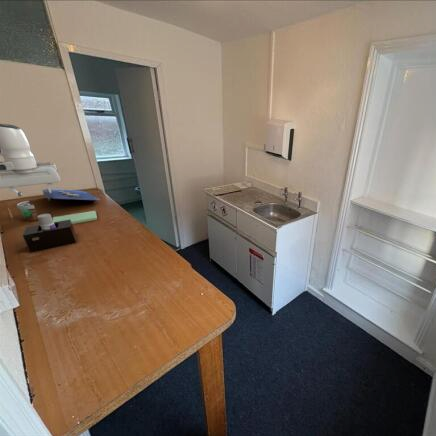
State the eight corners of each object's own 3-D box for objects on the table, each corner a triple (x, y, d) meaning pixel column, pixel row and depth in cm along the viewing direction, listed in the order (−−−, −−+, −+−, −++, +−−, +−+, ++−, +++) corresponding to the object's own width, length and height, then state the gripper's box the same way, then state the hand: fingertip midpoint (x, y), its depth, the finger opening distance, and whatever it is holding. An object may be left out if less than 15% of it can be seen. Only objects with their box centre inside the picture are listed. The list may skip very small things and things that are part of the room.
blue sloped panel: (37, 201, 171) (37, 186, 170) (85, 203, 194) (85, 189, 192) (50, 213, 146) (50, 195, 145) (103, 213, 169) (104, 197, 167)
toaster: (30, 253, 107) (22, 236, 104) (33, 243, 116) (26, 226, 112) (76, 243, 117) (70, 227, 113) (76, 234, 125) (70, 219, 122)
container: (58, 239, 119) (47, 212, 113) (63, 242, 118) (52, 214, 112) (46, 243, 116) (34, 216, 110) (51, 246, 114) (39, 218, 108)
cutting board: (52, 227, 131) (51, 225, 131) (54, 219, 141) (53, 217, 140) (97, 219, 143) (96, 217, 143) (96, 212, 153) (95, 210, 152)
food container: (20, 218, 140) (13, 202, 136) (35, 215, 145) (28, 200, 141) (25, 223, 134) (18, 207, 130) (40, 220, 139) (33, 204, 135)
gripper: (55, 161, 109) (65, 189, 115) (-12, 164, 97) (3, 196, 103) (54, 163, 105) (65, 192, 111) (-16, 167, 93) (0, 200, 98)
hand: (35, 194), depth 106 cm, fingers open, 8 cm apart
